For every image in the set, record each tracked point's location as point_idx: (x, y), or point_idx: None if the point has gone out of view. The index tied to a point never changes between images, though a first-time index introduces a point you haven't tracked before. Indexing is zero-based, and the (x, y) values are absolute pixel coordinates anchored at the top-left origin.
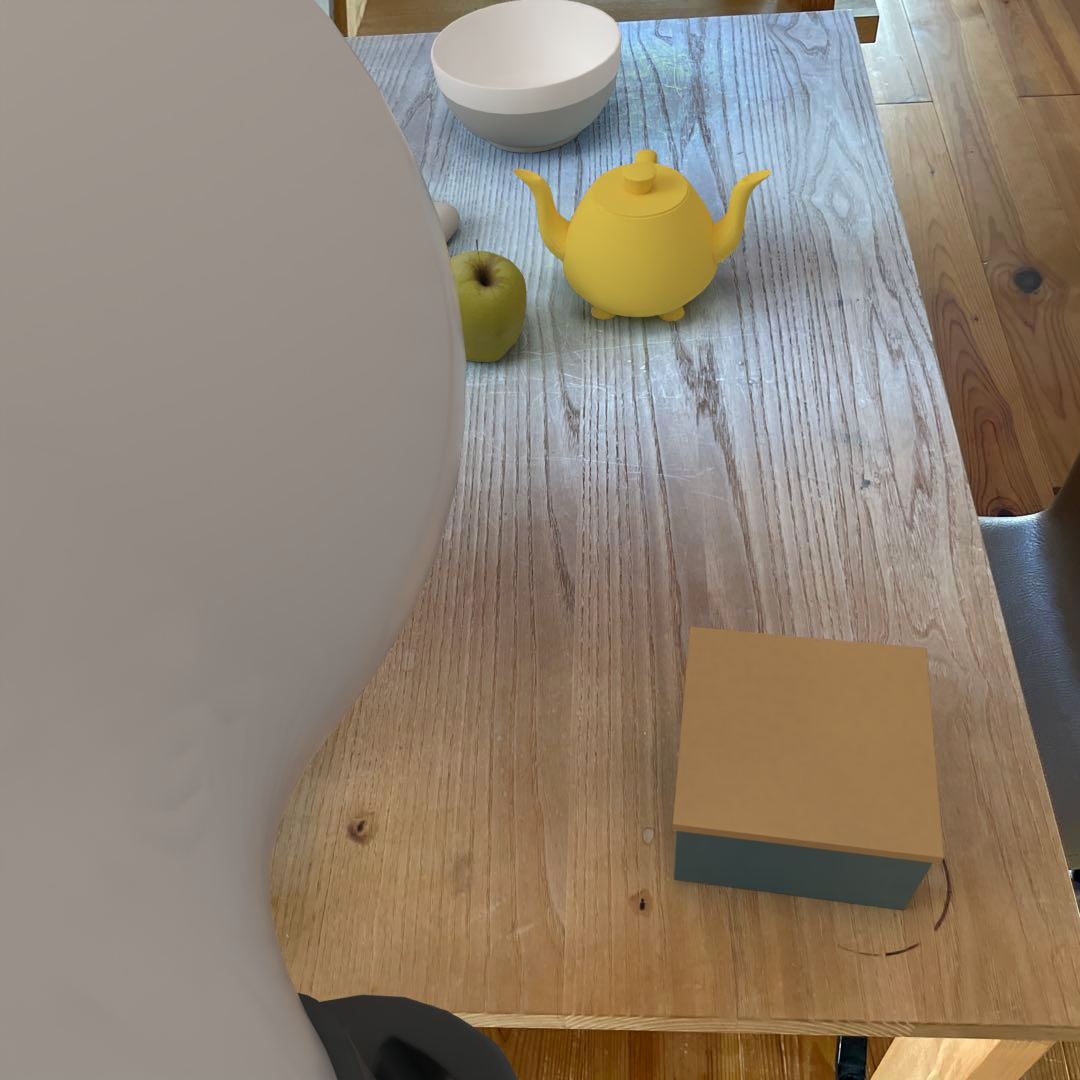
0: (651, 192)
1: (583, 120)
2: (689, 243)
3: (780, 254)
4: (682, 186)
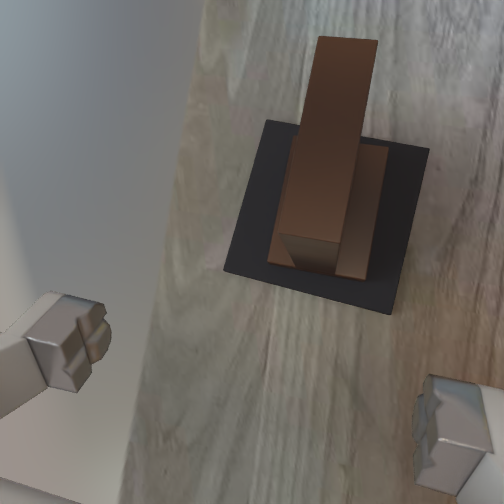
0: None
1: None
2: None
3: None
4: None
